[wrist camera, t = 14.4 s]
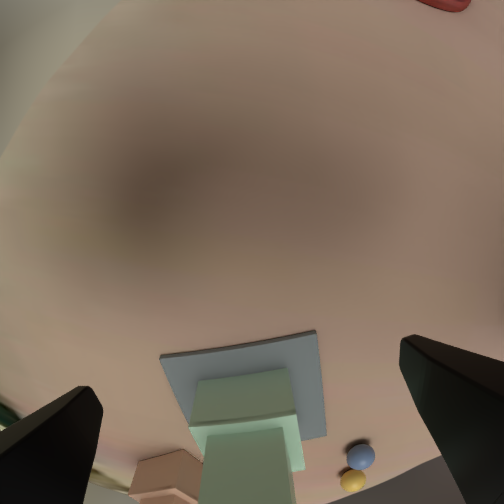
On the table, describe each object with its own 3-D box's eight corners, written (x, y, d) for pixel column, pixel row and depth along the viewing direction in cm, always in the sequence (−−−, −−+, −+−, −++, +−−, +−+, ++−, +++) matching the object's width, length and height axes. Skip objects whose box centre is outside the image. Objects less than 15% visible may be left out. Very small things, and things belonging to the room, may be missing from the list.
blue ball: (375, 444, 23) (346, 443, 24) (369, 472, 21) (341, 470, 23) (378, 444, 25) (352, 443, 26) (374, 469, 23) (347, 468, 25)
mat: (315, 330, 21) (316, 333, 21) (325, 432, 24) (326, 435, 24) (160, 355, 22) (159, 358, 21) (203, 448, 25) (203, 452, 24)
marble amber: (369, 465, 26) (349, 465, 25) (372, 487, 23) (351, 488, 23) (354, 473, 27) (334, 473, 27) (356, 493, 25) (335, 494, 24)
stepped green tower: (287, 367, 21) (313, 511, 9) (297, 425, 23) (318, 545, 11) (198, 380, 22) (169, 519, 10) (220, 435, 23) (210, 554, 11)
